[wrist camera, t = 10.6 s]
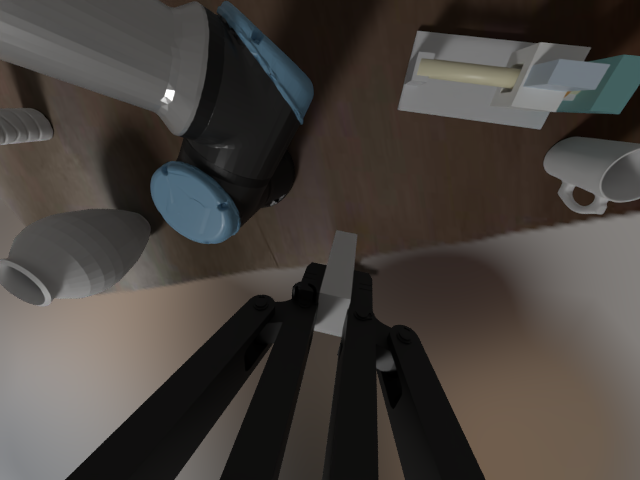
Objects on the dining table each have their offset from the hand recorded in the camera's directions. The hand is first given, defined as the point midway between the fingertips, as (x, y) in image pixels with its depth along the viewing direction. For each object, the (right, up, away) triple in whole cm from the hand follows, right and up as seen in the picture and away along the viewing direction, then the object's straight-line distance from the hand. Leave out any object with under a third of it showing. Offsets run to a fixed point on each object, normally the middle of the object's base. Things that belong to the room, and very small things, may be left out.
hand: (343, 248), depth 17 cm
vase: (-50, +5, +46) cm, 68 cm away
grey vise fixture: (+23, +25, +19) cm, 39 cm away
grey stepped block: (+25, +22, +14) cm, 36 cm away
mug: (+39, +13, +23) cm, 47 cm away
